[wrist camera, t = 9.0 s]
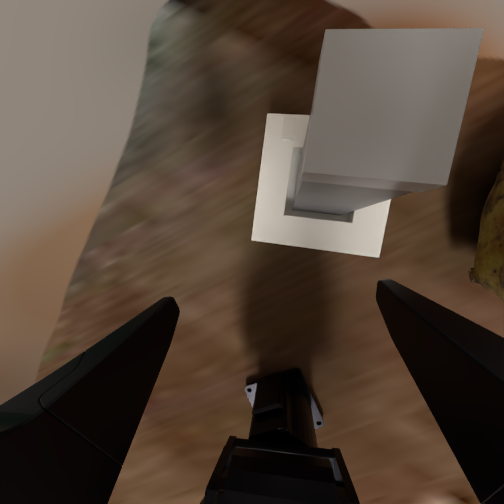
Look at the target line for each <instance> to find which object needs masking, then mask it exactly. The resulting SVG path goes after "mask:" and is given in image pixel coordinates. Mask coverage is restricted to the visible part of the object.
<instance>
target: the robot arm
mask: <svg viewBox="0 0 504 504" xmlns="http://www.w3.org/2000/svg"><path fill="white" fill-rule="evenodd" d="M376 301H377V303H378V306H379V308H380V311H381V313H382V316H383V318H384V321H385V323H386V326H387V328H388V331H389V333H390V336H391V338H392V340H393V342H394V344H395V346H396V348H397V349H398V351H399V353H400V355H401V357H402V359H403V361H404V362H405V364H406V366H407V368H408V370H409V372H410V374H411V375H412V377H413V379H414V381H415V383H416V385H417V387H418V388H419V390H420V392H421V394H422V396H423V398H424V400H425V401H426V403H427V405H428V407H429V409H430V411H431V413H432V414H433V416H434V418H435V420H436V422H437V424H438V425H439V427H440V429H441V431H442V433H443V435H444V437H445V438H446V440H447V442H448V444H449V446H450V448H451V450H452V451H453V453H454V455H455V457H456V459H457V461H458V463H459V464H460V466H461V468H462V470H463V472H464V474H465V476H466V477H467V479H468V481H469V483H470V485H471V487H472V489H473V490H474V492H475V494H476V496H477V498H478V500H479V502H480V503H481V504H504V338H503V337H501V336H499V335H497V334H495V333H493V332H492V331H490V330H488V329H486V328H484V327H482V326H480V325H478V324H476V323H474V322H472V321H470V320H468V319H466V318H465V317H463V316H461V315H459V314H457V313H455V312H453V311H451V310H449V309H447V308H445V307H443V306H441V305H440V304H438V303H436V302H434V301H432V300H430V299H428V298H426V297H424V296H422V295H420V294H418V293H416V292H414V291H413V290H411V289H409V288H407V287H405V286H403V285H401V284H399V283H397V282H395V281H393V280H391V279H383V280H379V281H378V283H377V291H376ZM179 313H180V310H179V307H178V305H177V303H176V301H175V299H174V298H173V297H164V298H162V299H161V300H159V301H158V302H156V303H155V304H153V305H152V306H150V307H149V308H147V309H146V310H144V311H143V312H142V313H140V314H139V315H137V316H136V317H134V318H133V319H131V320H130V321H128V322H127V323H125V324H124V325H122V326H121V327H119V328H118V329H117V330H115V331H114V332H112V333H111V334H109V335H108V336H106V337H105V338H103V339H102V340H100V341H99V342H97V343H96V344H95V345H93V346H92V347H90V348H89V349H87V350H86V351H84V352H83V353H81V354H80V355H78V356H77V357H75V358H74V359H72V360H71V361H69V362H68V363H66V364H65V365H63V366H62V367H60V368H59V369H57V370H56V371H54V372H53V373H51V374H50V375H48V376H46V377H45V378H43V379H42V380H40V381H38V382H37V383H35V384H34V385H32V386H30V387H29V388H27V389H26V390H24V391H22V392H21V393H19V394H18V395H16V396H14V397H13V398H11V399H10V400H8V401H6V402H5V403H3V404H2V405H0V504H108V501H109V499H110V496H111V494H112V491H113V489H114V486H115V484H116V481H117V478H118V476H119V473H120V471H121V468H122V465H123V463H124V460H125V458H126V455H127V453H128V450H129V448H130V445H131V443H132V440H133V438H134V435H135V433H136V430H137V428H138V425H139V423H140V420H141V418H142V415H143V413H144V410H145V408H146V405H147V403H148V400H149V397H150V395H151V392H152V390H153V387H154V385H155V382H156V380H157V377H158V375H159V372H160V370H161V367H162V365H163V362H164V360H165V357H166V355H167V352H168V350H169V347H170V344H171V341H172V338H173V335H174V331H175V328H176V324H177V321H178V317H179ZM295 373H299V375H296V374H295ZM248 388H251V389H248ZM245 392H246V394H247V396H248V399H249V401H250V403H251V405H252V407H253V409H252V414H253V415H252V421H251V427H250V433H249V440H248V439H240V438H236V436H229V439H228V441H227V443H226V445H225V446H224V448H223V451H222V453H221V455H220V458H219V460H218V462H217V464H216V467H215V469H214V471H213V473H212V476H211V478H210V480H209V483H208V485H207V487H206V491H205V497H204V498H203V499H202V501H201V502H200V504H360V503H359V500H358V497H357V494H356V491H355V489H354V486H353V483H352V481H351V478H350V475H349V473H348V470H347V467H346V465H345V462H344V459H343V457H342V454H341V451H340V449H339V448H332V449H325V448H318V447H317V440H316V434H315V429H317V428H321V427H323V426H324V421H323V417H322V415H321V413H320V411H319V409H318V406H317V404H316V402H315V400H314V398H313V395H312V393H311V391H310V389H309V387H308V384H307V382H306V380H305V378H304V375H303V373H302V371H301V370H300V369H299V368H294V369H291V370H288V371H285V372H282V373H276V374H273V375H270V376H267V377H264V378H261V379H259V380H257V381H254V382H250V383H248V384H246V386H245ZM317 421H320V422H317Z"/></svg>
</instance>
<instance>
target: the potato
mask: <svg viewBox="0 0 504 504" xmlns="http://www.w3.org/2000/svg"><path fill="white" fill-rule="evenodd" d="M470 269H471V272H470V271H469V277H470V280H471V283H473V282H476V283H479V284H481V285H482V286H483V287H484V288H485V289H486V290H488V291H492V292H493V293H495V294H496V295H497V296H498V297H500V298H501V299H502V300H504V157H503V160H502V162H501V165H500V172H499V173H498V174H497V176H496V181H495V183H494V185H493V187H492V189H491V190H490V192H489V195H488V197H487V199H486V202H485V205H484V207H483V211H482V214H481V220H480V231H479V239H478V245H477V251H476V257H475V263H474V268H470Z"/></svg>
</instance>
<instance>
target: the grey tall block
mask: <svg viewBox="0 0 504 504" xmlns="http://www.w3.org/2000/svg"><path fill="white" fill-rule="evenodd" d="M483 31H484V28H430V29H429V28H428V29H427V28H423V29H422V28H420V29H326V30H325V35H324V40H323V44H322V49H321V54H320V59H319V65H318V72H317V78H316V84H315V91H314V97H313V103H312V108H311V113H310V117H309V122H308V126H307V131H306V136H305V140H304V145H303V149H302V154H301V158H300V163H299V169H298V176H297V182H296V189H295V195H294V201H293V208H292V210H298V211H307V212H315V213H323V214H332V215H343V214H346V213H349V212H352V211H355V210H358V209H361V208H364V207H368V206H371V205H374V204H377V203H380V202H383V201H386V200H389V199H392V198H395V197H399V196H402V195H405V194H408V193H411V192H420V193H422V192H426V191H429V190H433V189H436V188H439V187H443V186H446V185H447V182H448V178H449V174H450V170H451V165H452V161H453V157H454V153H455V149H456V144H457V140H458V136H459V132H460V128H461V123H462V119H463V115H464V111H465V107H466V102H467V98H468V94H469V90H470V86H471V81H472V77H473V73H474V69H475V65H476V61H477V56H478V52H479V48H480V44H481V40H482V35H483Z"/></svg>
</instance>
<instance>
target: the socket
mask: <svg viewBox="0 0 504 504" xmlns="http://www.w3.org/2000/svg"><path fill="white" fill-rule="evenodd" d="M309 117H310V115H294V114H271V113H267V121H266V128H265V136H264V144H263V152H262V160H261V168H260V176H259V184H258V191H257V199H256V207H255V215H254V223H253V231H252V239H251V240H253V241H260V242H267V243H275V244H282V245H289V246H297V247H304V248H311V249H319V250H326V251H333V252H341V253H348V254H355V255H363V256H370V257H377V258H379V256H380V251H381V246H382V241H383V236H384V231H385V226H386V221H387V216H388V211H389V206H390V201H391V199H389V200H386V201H383V202H380V203H377V204H374V205H371V206H368V207H364V208H361V209H358V210H355V211H352V212H349V213H346V214H343V215H332V214H323V213H315V212H307V211H298V210H292V208H293V201H294V195H295V189H296V182H297V176H298V169H299V163H300V158H301V154H302V149H303V145H304V140H305V136H306V131H307V126H308V122H309Z"/></svg>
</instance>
